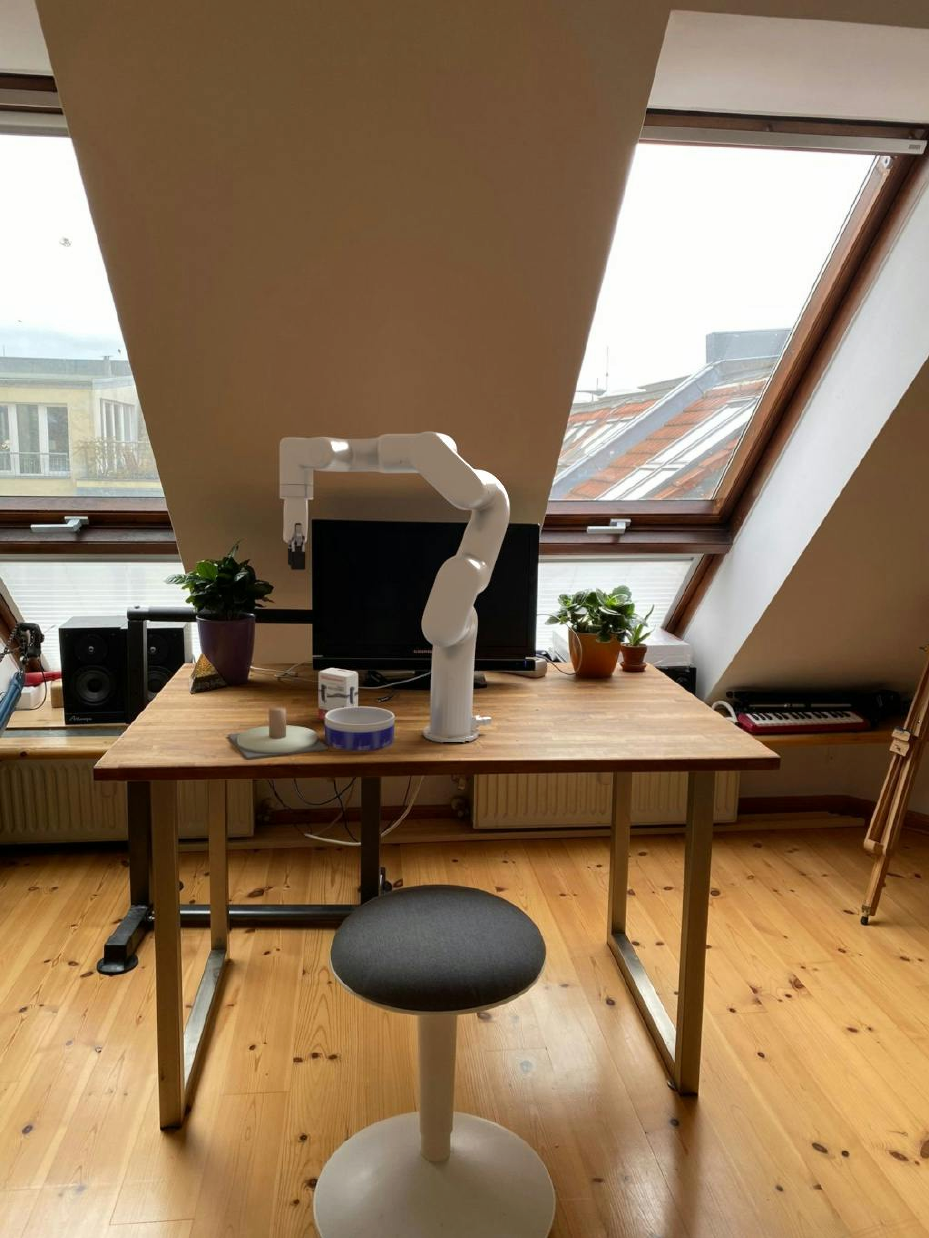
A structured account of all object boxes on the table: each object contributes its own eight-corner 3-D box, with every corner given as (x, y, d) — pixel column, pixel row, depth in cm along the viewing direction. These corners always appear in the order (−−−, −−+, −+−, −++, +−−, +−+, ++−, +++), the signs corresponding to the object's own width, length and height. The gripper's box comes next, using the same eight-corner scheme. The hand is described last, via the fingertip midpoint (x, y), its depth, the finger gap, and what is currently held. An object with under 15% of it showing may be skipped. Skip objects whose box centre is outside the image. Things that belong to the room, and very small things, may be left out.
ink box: (317, 718, 207) (317, 670, 205) (330, 714, 211) (330, 667, 209) (346, 724, 202) (346, 675, 201) (358, 720, 207) (359, 671, 205)
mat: (302, 728, 198) (302, 726, 198) (327, 749, 184) (327, 747, 184) (227, 736, 190) (227, 734, 190) (247, 759, 176) (247, 757, 176)
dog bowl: (321, 732, 196) (321, 706, 195) (388, 729, 200) (388, 704, 199) (327, 753, 182) (328, 725, 181) (399, 750, 186) (400, 723, 185)
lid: (302, 726, 198) (302, 696, 197) (328, 747, 184) (329, 715, 183) (228, 734, 190) (227, 704, 189) (249, 757, 176) (249, 724, 174)
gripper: (277, 491, 204) (277, 563, 207) (282, 493, 188) (282, 571, 191) (309, 492, 206) (309, 563, 209) (316, 494, 190) (316, 571, 193)
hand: (296, 567), depth 200 cm, fingers open, 9 cm apart
